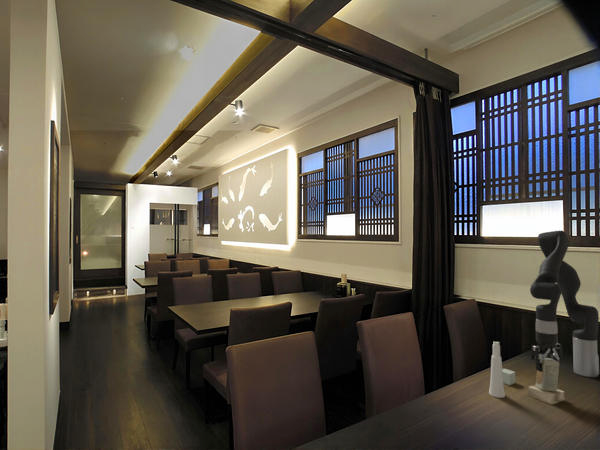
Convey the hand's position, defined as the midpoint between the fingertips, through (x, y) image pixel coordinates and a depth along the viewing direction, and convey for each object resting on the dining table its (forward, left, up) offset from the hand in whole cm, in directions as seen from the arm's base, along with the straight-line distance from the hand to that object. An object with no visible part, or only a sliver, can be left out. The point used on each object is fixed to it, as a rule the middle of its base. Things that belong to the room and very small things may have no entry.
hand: (547, 369), depth 146 cm
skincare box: (+1, 0, -8) cm, 8 cm away
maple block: (+1, 0, -12) cm, 12 cm away
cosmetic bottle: (+18, -8, -12) cm, 23 cm away
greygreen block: (+3, -17, -12) cm, 21 cm away
